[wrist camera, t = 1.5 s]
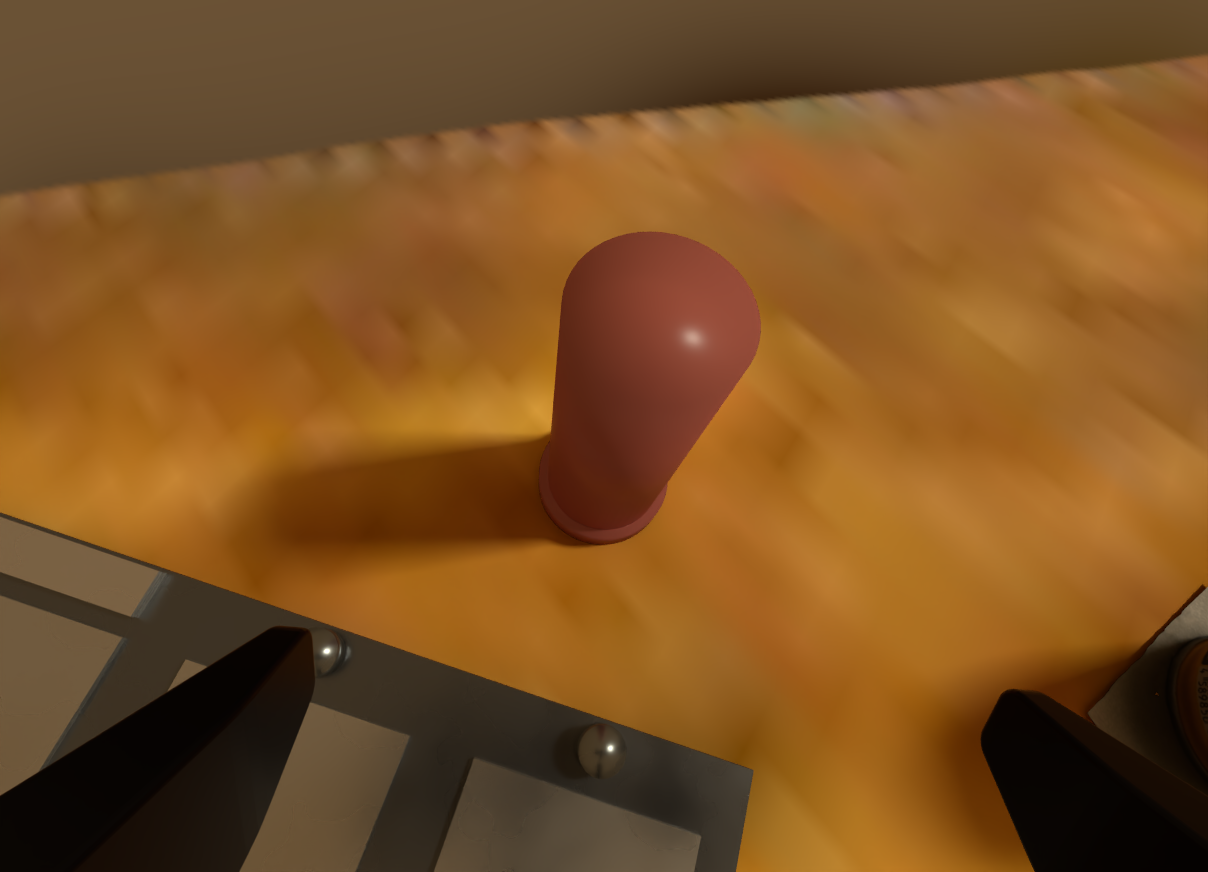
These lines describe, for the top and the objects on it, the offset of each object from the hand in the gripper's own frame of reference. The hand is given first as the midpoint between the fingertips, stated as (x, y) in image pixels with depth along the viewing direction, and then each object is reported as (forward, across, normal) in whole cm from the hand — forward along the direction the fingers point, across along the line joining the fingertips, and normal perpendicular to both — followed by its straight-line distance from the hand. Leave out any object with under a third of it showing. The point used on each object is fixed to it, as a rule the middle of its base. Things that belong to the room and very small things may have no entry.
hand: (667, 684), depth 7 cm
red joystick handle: (+14, 0, +4) cm, 14 cm away
